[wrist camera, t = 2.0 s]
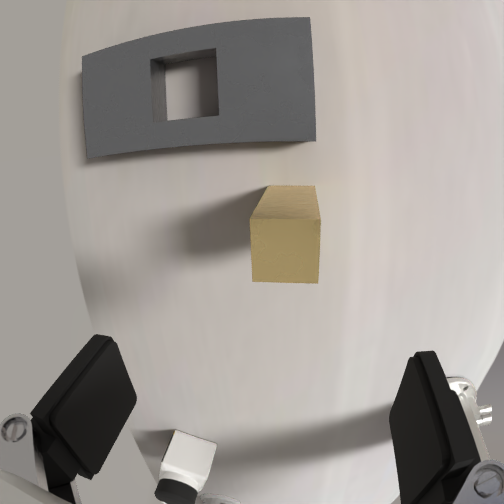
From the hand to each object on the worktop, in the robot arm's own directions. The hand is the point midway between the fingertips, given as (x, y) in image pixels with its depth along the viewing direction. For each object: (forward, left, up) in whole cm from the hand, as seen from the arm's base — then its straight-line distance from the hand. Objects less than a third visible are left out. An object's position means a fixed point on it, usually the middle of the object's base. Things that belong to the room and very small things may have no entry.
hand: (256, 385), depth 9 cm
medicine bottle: (+15, +39, -21) cm, 46 cm away
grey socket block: (+8, -11, -20) cm, 24 cm away
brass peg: (0, 0, -20) cm, 20 cm away
